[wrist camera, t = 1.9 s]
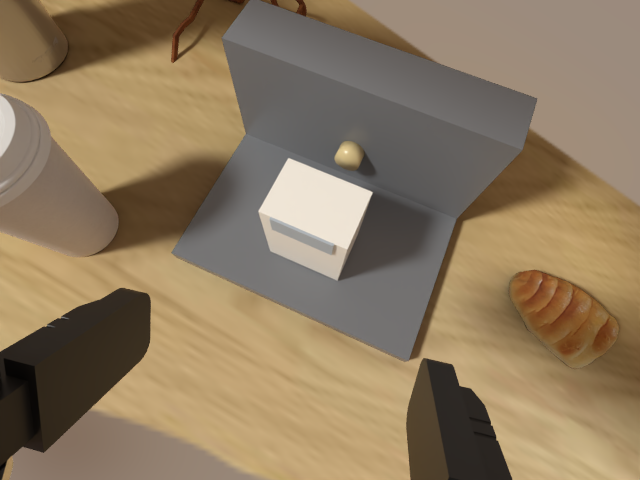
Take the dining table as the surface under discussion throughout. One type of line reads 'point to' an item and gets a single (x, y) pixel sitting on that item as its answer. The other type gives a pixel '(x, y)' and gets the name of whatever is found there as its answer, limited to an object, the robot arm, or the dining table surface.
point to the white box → (313, 217)
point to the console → (352, 167)
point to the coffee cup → (47, 188)
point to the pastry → (563, 317)
